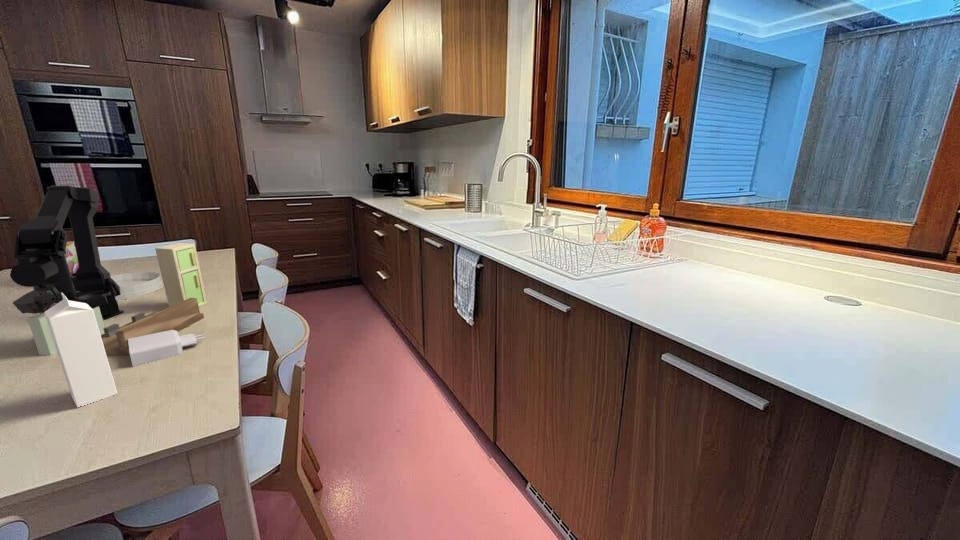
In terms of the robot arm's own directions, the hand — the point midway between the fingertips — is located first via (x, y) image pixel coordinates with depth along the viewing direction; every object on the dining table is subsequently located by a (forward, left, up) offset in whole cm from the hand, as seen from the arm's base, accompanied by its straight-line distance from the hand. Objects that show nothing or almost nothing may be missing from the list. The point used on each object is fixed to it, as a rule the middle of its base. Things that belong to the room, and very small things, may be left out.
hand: (71, 332), depth 102 cm
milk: (+30, -23, -3) cm, 38 cm away
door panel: (0, 0, -3) cm, 3 cm away
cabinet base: (+13, +6, -3) cm, 15 cm away
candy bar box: (-57, +48, -3) cm, 75 cm away
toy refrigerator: (+11, +26, -3) cm, 28 cm away
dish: (-25, +40, -4) cm, 47 cm away
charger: (+29, -3, -4) cm, 30 cm away
